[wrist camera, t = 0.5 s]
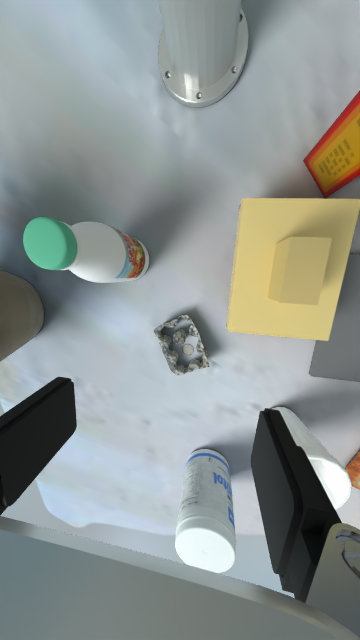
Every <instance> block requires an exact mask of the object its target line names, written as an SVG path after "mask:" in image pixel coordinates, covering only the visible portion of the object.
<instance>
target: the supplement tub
mask: <svg viewBox="0 0 360 640" xmlns="http://www.w3.org/2000/svg"><path fill="white" fill-rule="evenodd" d="M235 546H236V540H235V526H234V513H233V501H232V490H231V477H230V468H229V465H228V462H227V461H226V459H225V458H224V457H223V456H222V455H221V454H219V453H218V452H216V451H213V450H210V449H200V450H197V451H194V452H193V453H192V454H191V455H190V456H189V457H188V459H187V462H186V468H185V474H184V481H183V488H182V494H181V501H180V508H179V514H178V521H177V529H176V542H175V547H176V551H177V553H178V555H179V556H180V558H181V559H182V560H183V561H184V562H185V563H186V564H187V565H190V566H193V567H197V568H201V569H205V570H208V571H212V572H215V573H220V572H224V571H226V570H228V569H229V568H230V567H231V566H232V565H233V564H234V561H235V556H236V552H235Z"/></svg>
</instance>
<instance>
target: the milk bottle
mask: <svg viewBox="0 0 360 640" xmlns="http://www.w3.org/2000/svg"><path fill="white" fill-rule="evenodd" d="M23 244H24V248H25V251H26V253H27V255H28V257H29V258H30V259H31V261H32V262H33V263H35V264H36V265H37V266H39V267H41V268H44V269H49V270H68V269H69V270H70V271H71V272H73V273H74V274H75V275H77V276H78V277H80V278H82V279H85V280H88V281H91V282H101V283H108V282H124V281H134V280H137V279H139V278H141V277H142V276H143V275H144V274H145V272H146V271H147V269H148V265H149V255H148V251H147V249H146V247H145V246H144V245H143V244H142V243H141V242H140V241H139V240H137V239H135V238H133V237H131V236H129V235H127V234H125V233H123V232H121V231H119V230H117V229H115V228H112V227H110V226H107V225H105V224H102V223H98V222H90V221H87V222H80V223H77V224H74V225H72V226H70V225H68V224H67V223H64V222H61V221H59V220H56V219H53V218H50V217H37V218H34V219H33V220H31V221H30V222H29V223H28V224H27V226H26V228H25V230H24V234H23Z"/></svg>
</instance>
